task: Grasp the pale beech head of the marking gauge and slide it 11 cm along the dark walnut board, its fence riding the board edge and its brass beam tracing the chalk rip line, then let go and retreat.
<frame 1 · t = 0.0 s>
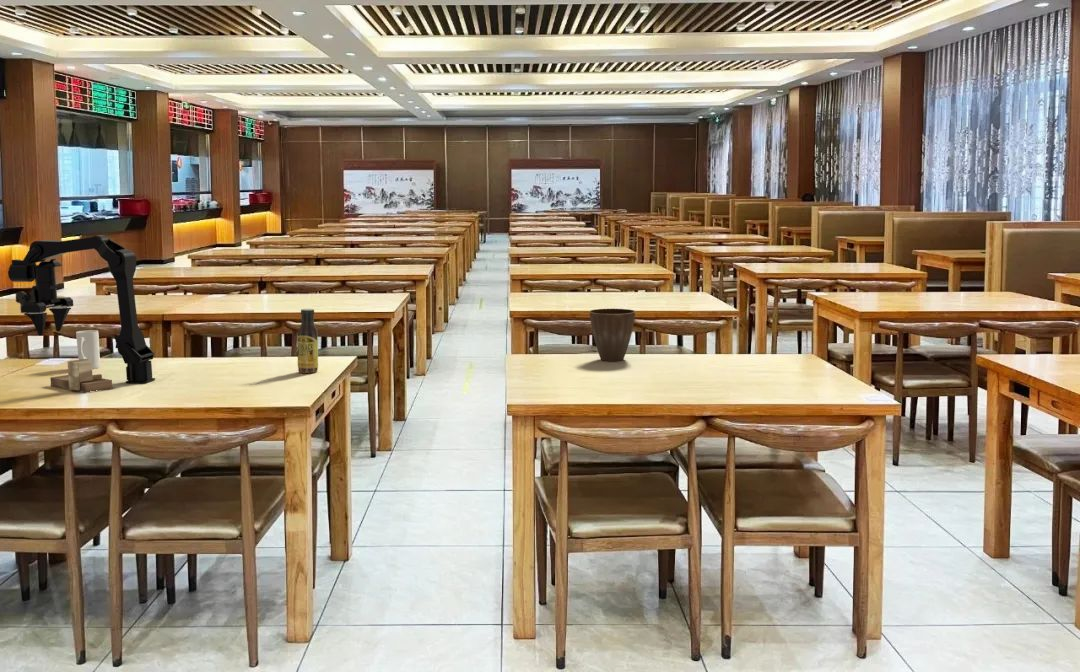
hand: (49, 333, 330), 15 cm above the table, fingers open, 9 cm apart
marking gauge: (86, 373, 316), point 5 cm above the table, slide at 0.0 cm
sauce bottle: (308, 372, 340), on the table
plant pot: (612, 360, 356), on the table
walnut board: (81, 387, 321), on the table
mug: (87, 369, 354), on the table
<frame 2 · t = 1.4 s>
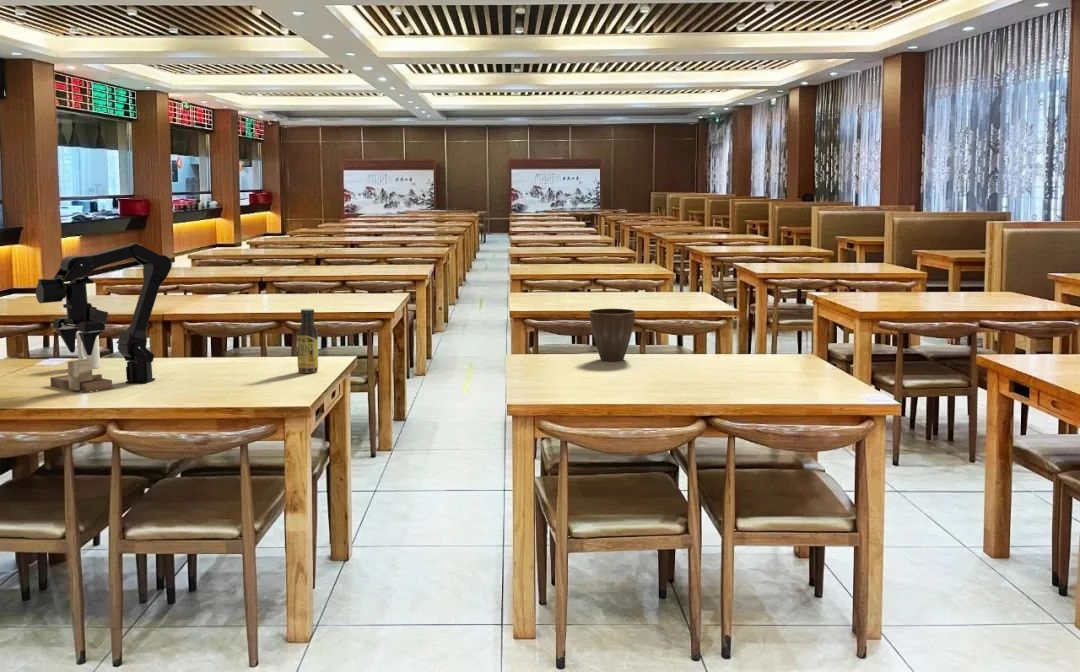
hand: (80, 353, 314), 11 cm above the table, fingers open, 9 cm apart
nothing on the table moved.
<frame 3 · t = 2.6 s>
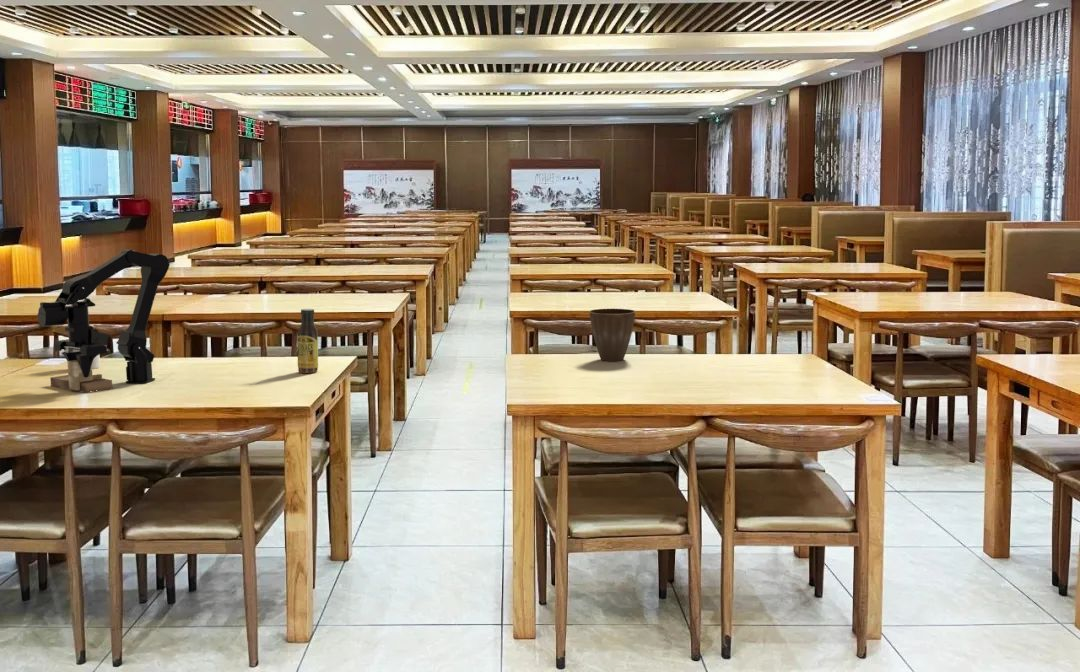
hand: (82, 376, 315), 4 cm above the table, fingers closed on marking gauge, 4 cm apart
marking gauge: (86, 373, 316), point 5 cm above the table, slide at 0.0 cm, touching gripper
everything else where it was.
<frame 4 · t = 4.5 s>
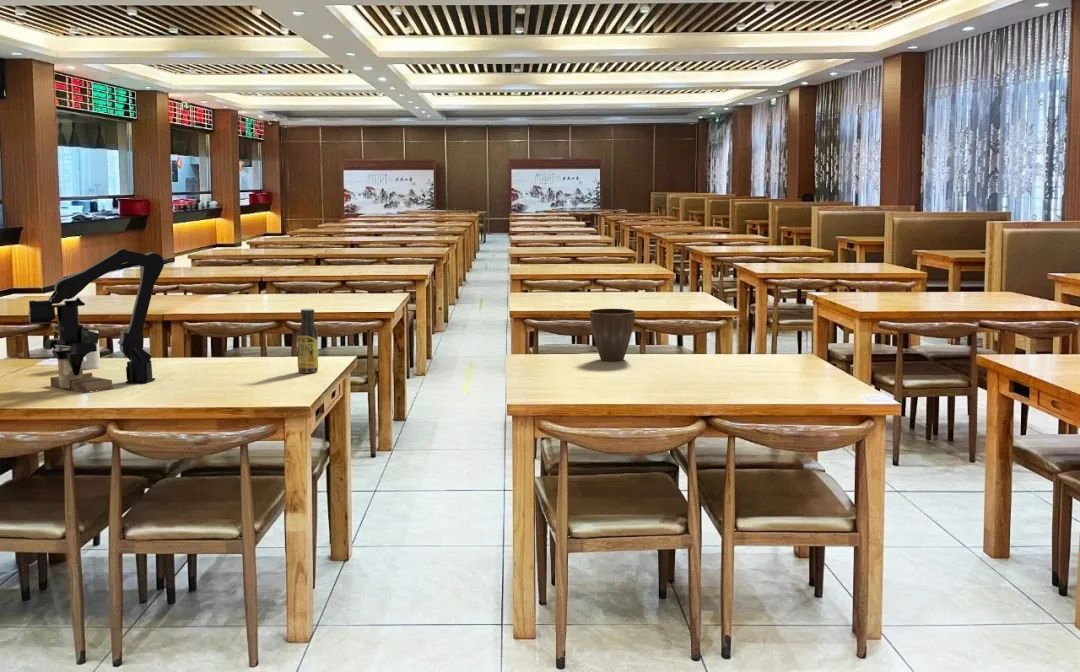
hand: (72, 374, 319), 4 cm above the table, fingers closed on marking gauge, 4 cm apart
marking gauge: (76, 371, 319), point 5 cm above the table, slide at 5.4 cm, touching gripper
everything else where it was.
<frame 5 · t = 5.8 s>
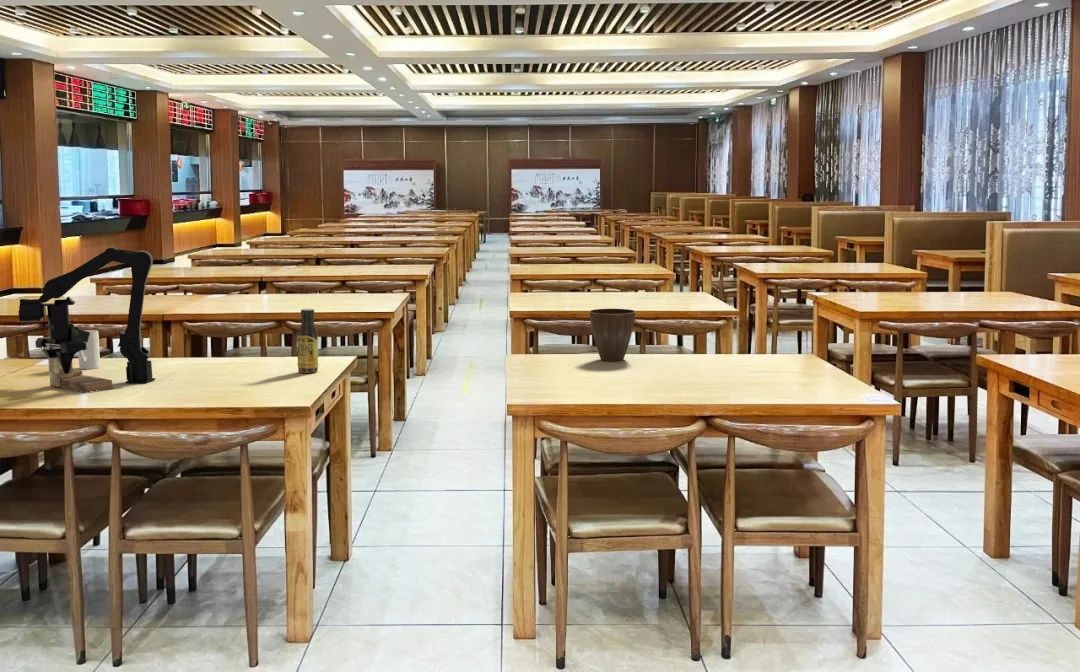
hand: (62, 372, 322), 4 cm above the table, fingers closed on marking gauge, 4 cm apart
marking gauge: (66, 370, 323), point 5 cm above the table, slide at 10.9 cm, touching gripper
everything else where it was.
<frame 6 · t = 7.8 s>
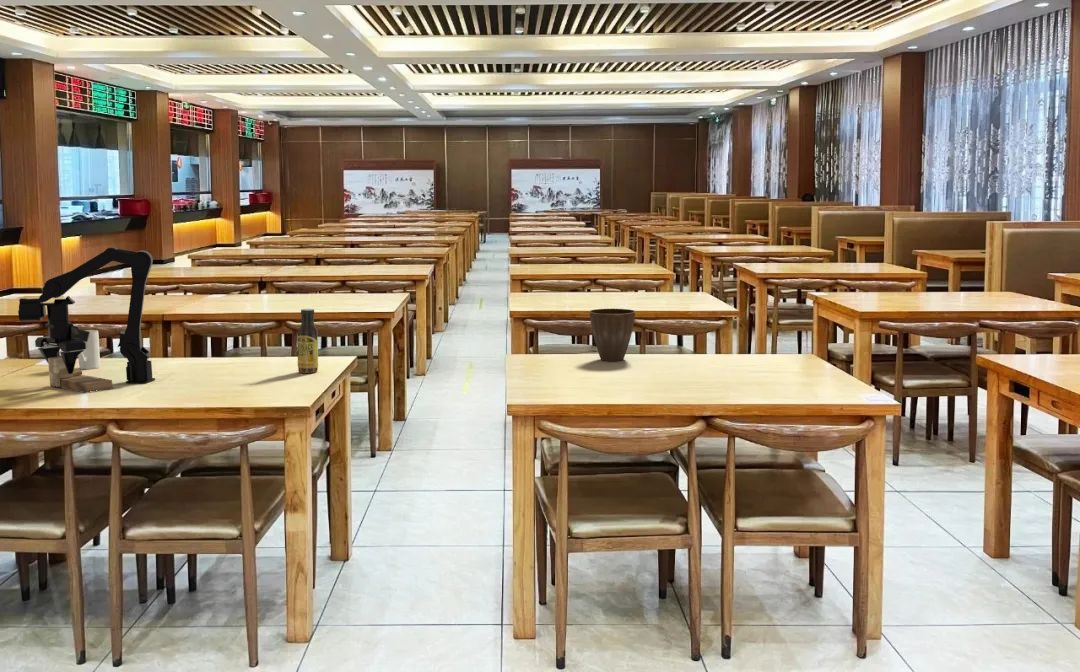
hand: (62, 372, 322), 4 cm above the table, fingers open, 9 cm apart
marking gauge: (66, 370, 323), point 5 cm above the table, slide at 11.0 cm
everything else where it was.
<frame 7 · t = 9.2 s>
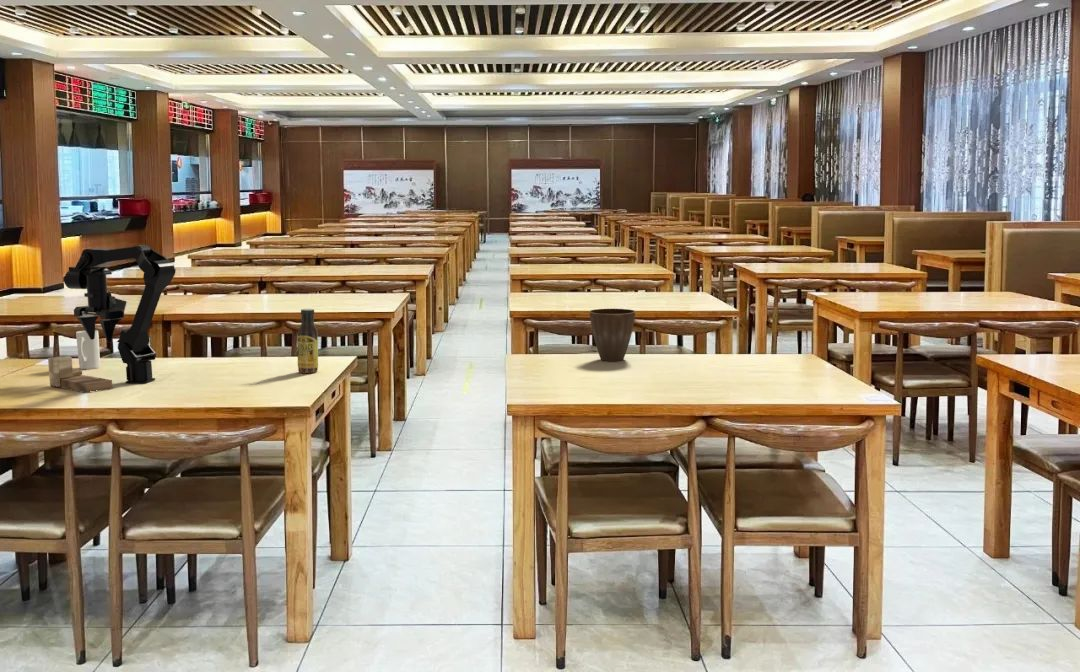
hand: (100, 340, 332), 12 cm above the table, fingers open, 9 cm apart
nothing on the table moved.
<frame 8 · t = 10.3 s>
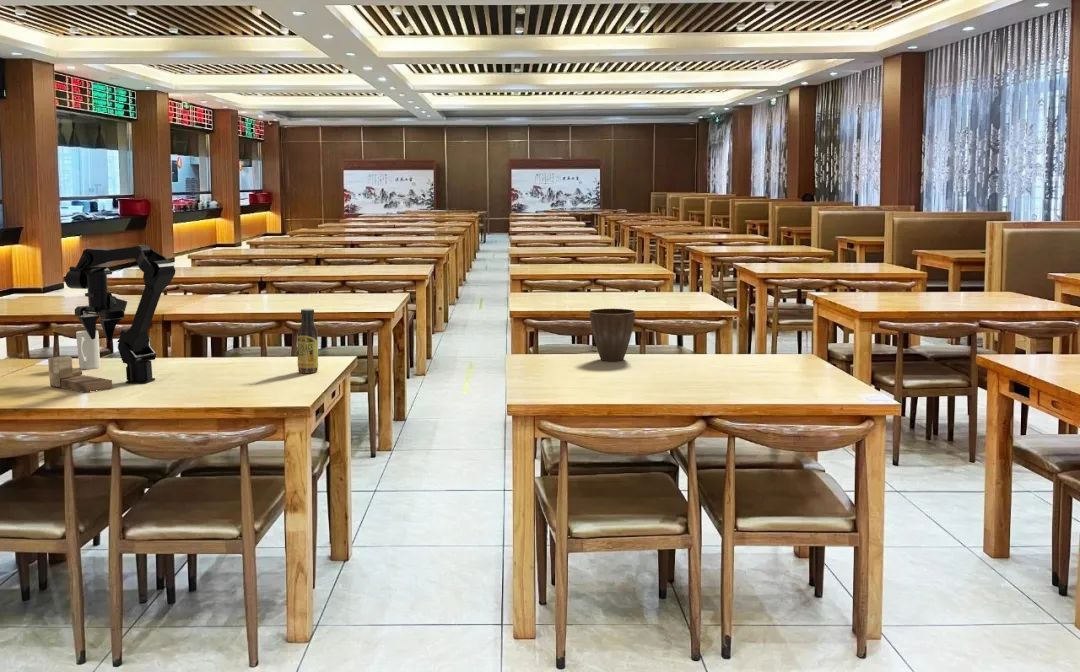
hand: (101, 340, 332), 12 cm above the table, fingers open, 9 cm apart
nothing on the table moved.
at the end: marking gauge slide at 11.0 cm; the gripper is holding nothing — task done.
